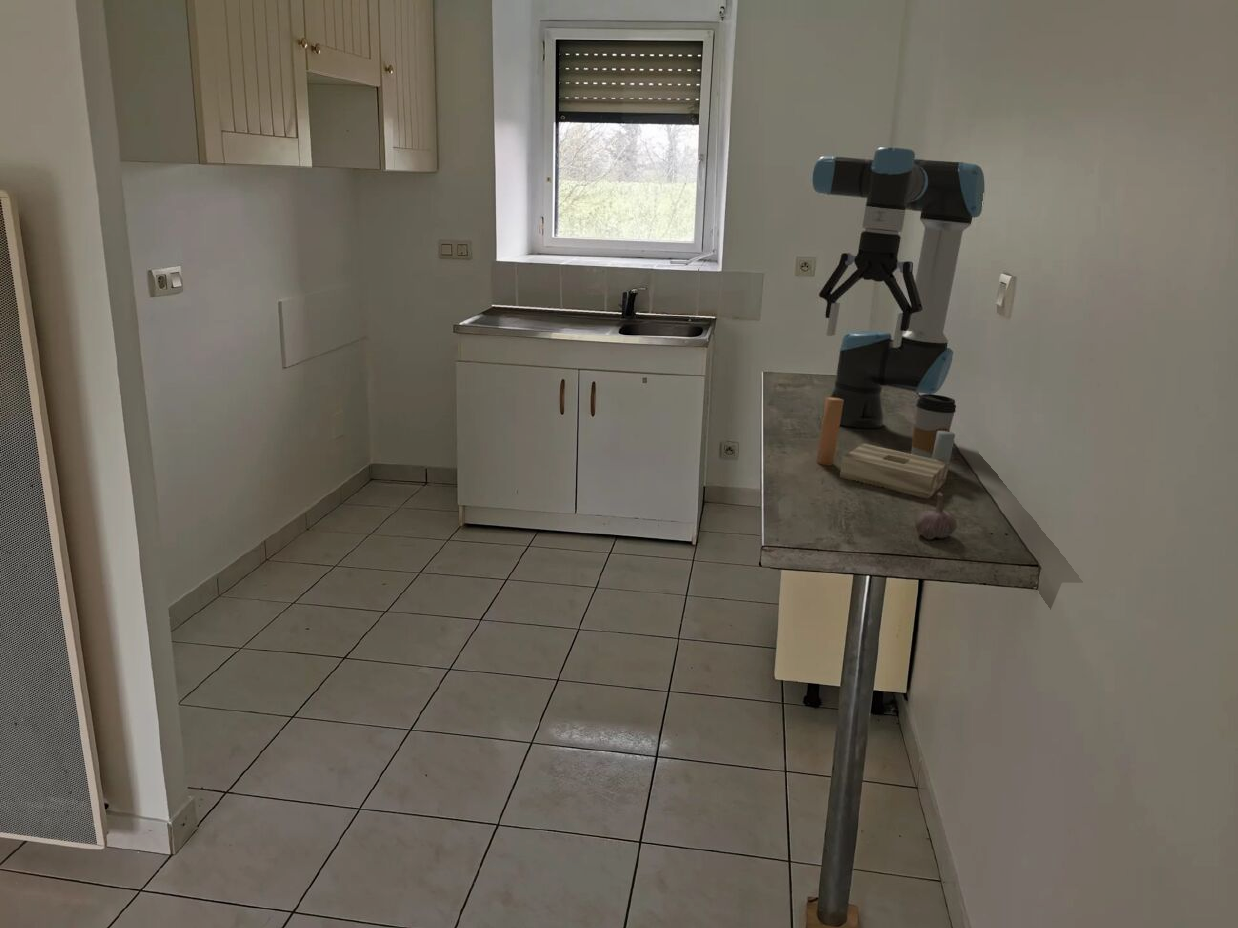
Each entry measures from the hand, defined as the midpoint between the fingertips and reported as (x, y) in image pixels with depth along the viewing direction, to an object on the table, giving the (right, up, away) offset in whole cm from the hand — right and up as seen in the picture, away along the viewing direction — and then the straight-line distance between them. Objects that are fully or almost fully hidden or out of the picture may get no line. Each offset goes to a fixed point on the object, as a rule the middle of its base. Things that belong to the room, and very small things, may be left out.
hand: (862, 341), depth 191 cm
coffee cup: (+19, -25, +22) cm, 38 cm away
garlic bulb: (+6, -37, -23) cm, 44 cm away
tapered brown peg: (-4, -24, +15) cm, 29 cm away
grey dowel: (+18, -28, +11) cm, 35 cm away
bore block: (+8, -28, +7) cm, 30 cm away
